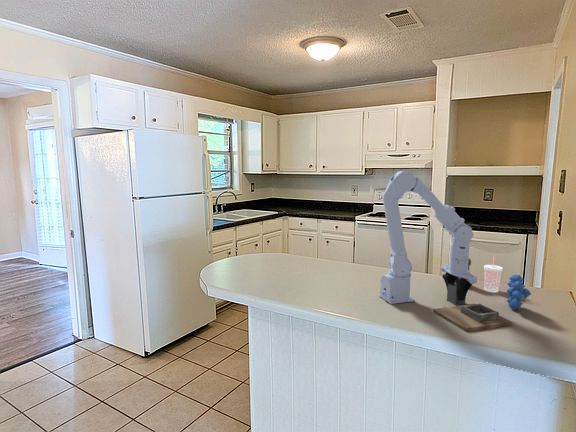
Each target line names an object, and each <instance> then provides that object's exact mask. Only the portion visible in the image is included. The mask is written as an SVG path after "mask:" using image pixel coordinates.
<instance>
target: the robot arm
mask: <svg viewBox="0 0 576 432" xmlns="http://www.w3.org/2000/svg"><path fill="white" fill-rule="evenodd" d="M409 191H410V192H413V193H415V194H417V195H419V196H420V197H421V199H423V201H424V202H426V204H428V205H429V206H430V208H431V209H433V210H434V217H435V219H436V220H437V221H438V222H439V223H440V224H441V225H442V226H443V227H444V229H446V231H448V234H449V236H451V237H450V244H449V245H450V246H449V248H450V249H449V260H448V261H449V263H448V265H443V264H442V265H440V271H441V272H444V273H443V274H442V276H441V277H442V279H443V281H444V283H445V285H446V290H448V284H450V283H455V282H456V285H457V290H458V294H457V296H458V300H459V301H460V300H464V299H465V297H466V296H467V293H468V292H469V290H470V288H471V287H472V286H473V284H477V283H478V277H477V276H475V275H473V274H472V273H471V272H470V273H469V271H468V260H469V258H470V257H469V256H470V246H471V245H470V241H471V240H472V239H473V237H474V234H475V233H474V231H473V228H472V227H471V226H470V225H468V224H466V223H465V221H466V220H465V219H464V218H463V217H460V215H459V214H457V212H456V208H455V207H454V206H450V205H449V204H443V203H442V202H441V201H440V200H439V199H438V197H437V196H436V195H435V194H434V193H433V191H431V189H430V188H429V187H428V185H426V183H425V182H424V181H422V180H421V179H420V178H419V177H417V176H416V175H415V174H414V173H413V171H410V170H398V171H397V172H395V173H394V174H393V175H392V176H391V177H390V179H389V182H388V183H387V186H386V188H385V191H384V193H383V195H382V202H383V207H384V213H385V221H386V227H387V233H388V239H389V240H388V241H389V245H390V246H389V247H390V255H389V260H388V261H389V265H390V266H391V268H390V269H389V270H388V273H387V274H384V275H382V276H381V278H380V292H379V295H378V297H380V298H381V299H382V300H384V301H386V302H387V303H389V304H390V305H393V304H394V305H395V304H403V303H410V302H415V301H416V299H415V298H413V297H411V296H410V295H411V275H412V273H411V272H412V270H413V264H412V263H411V261H410V260H409V258H408V254H407V253H408V252H407V249H406V246H405V245H406V244H405V238H404V233H403V226H402V219H401V212H400V205H399V201H400V199H401V198H402V197H403V195H404V194H406V193H407V192H409ZM458 278H461V280H460V279H459V280H458ZM465 300H466V299H465Z"/></svg>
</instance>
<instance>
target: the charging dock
mask: <svg viewBox="0 0 576 432" xmlns="http://www.w3.org/2000/svg"><path fill="white" fill-rule="evenodd" d="M432 313H433V314H436V315H437V316H439V317H441V318H442V319H444V320H445V321H447V322H449V323H451V324H452V325H454V326H456V327H458V328H460V329H461V330H462V331H464V332H465V333H468V332H476V331H481V330H487V329H493V328H500V327H507V326H512V324H513V321H511V319H508V318H505V317H503V316H501V315H500V313H499V311H496V310H494V309H491V308H489V307H487V306H485V305H483V304H481V303H471V304H460V305H454V306H446V307H439V308H433V309H432Z"/></svg>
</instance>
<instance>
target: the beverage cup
mask: <svg viewBox="0 0 576 432" xmlns="http://www.w3.org/2000/svg"><path fill="white" fill-rule="evenodd" d="M492 258H493V259H492V264H484V265H483V270H484V278H483V279H484V280H483V281H484V283H483V284H484V285H483V290H484V291H486V292H488V293H499V291H500V290H499V289H500V284H501V283H500V282H501V276H502V272H503V269H504V268H503V267H502V266H500V265H496V264H495V258H496V253H493V257H492Z"/></svg>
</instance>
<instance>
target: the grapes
mask: <svg viewBox="0 0 576 432" xmlns="http://www.w3.org/2000/svg"><path fill="white" fill-rule="evenodd" d="M508 279H509V282H508V283H507V286H508V287H509V288H508V289H507V290H506V292H505V293H506V294H507V296H508V297H509V298H508V299H507V300H506V302H507V303H508V304H507V305H508V306H509V308H510V309H511V310H512V311H517V310H518V309H519V308H521V307H522V305H523V302H522V300H523V299H526V298H528V297H530V296H531V295H532V292H531V291H530V290H529V289H528V288H525V287H526V286H525V284H524V283H523V281H524V278H523V276H521V275H520V274H516V273H515V274H512V275H511V276H510V277H509V278H508Z"/></svg>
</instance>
